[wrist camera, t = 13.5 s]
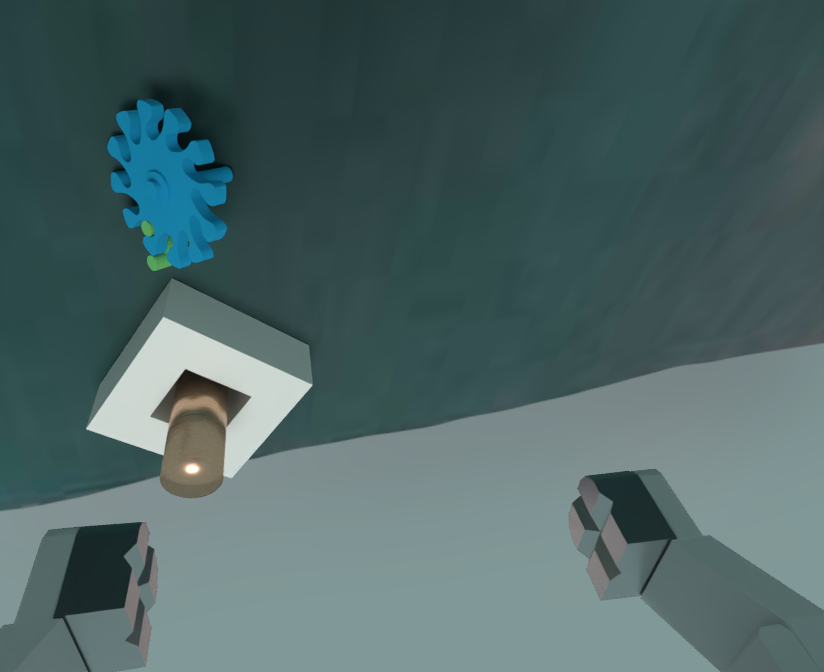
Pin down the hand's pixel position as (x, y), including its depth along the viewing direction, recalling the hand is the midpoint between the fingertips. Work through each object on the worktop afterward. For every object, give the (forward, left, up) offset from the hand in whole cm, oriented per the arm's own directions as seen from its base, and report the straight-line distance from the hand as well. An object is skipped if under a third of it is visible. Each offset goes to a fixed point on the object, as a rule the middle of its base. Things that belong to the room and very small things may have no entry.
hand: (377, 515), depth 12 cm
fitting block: (+7, -24, -34) cm, 42 cm away
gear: (-3, -11, -34) cm, 36 cm away
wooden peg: (+7, -24, -34) cm, 42 cm away
